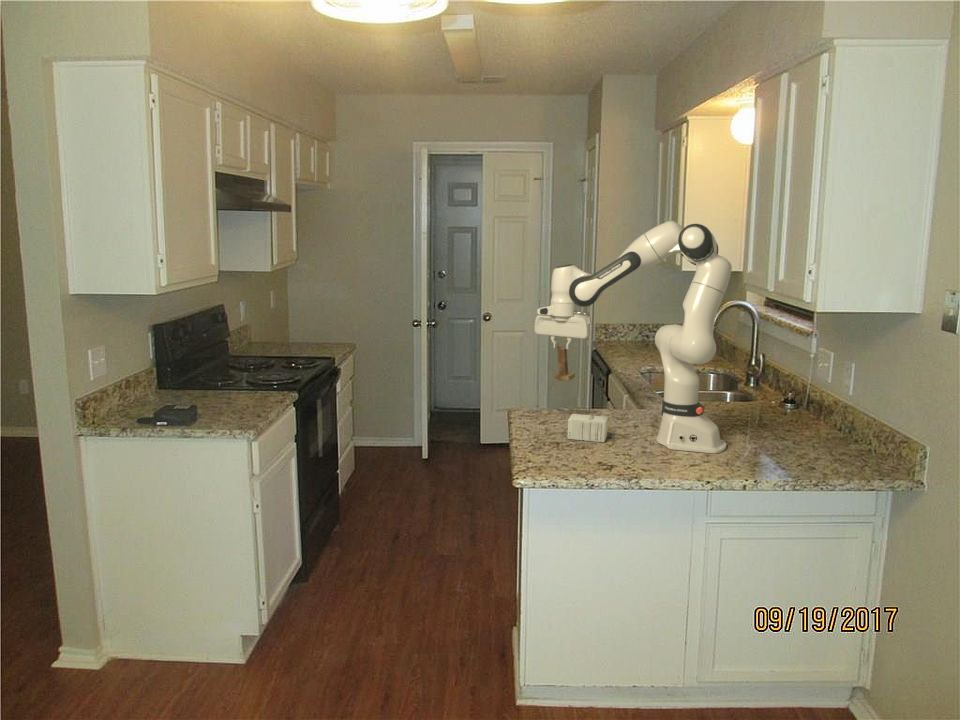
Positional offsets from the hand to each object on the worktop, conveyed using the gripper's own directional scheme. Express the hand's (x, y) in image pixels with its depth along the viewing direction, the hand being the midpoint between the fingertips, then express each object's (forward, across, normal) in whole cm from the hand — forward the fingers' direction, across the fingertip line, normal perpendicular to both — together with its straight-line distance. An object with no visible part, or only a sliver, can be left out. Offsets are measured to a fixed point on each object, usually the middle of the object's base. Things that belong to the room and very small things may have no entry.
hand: (561, 348), depth 268 cm
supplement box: (+24, -9, +15) cm, 29 cm away
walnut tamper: (+11, -1, -1) cm, 11 cm away
